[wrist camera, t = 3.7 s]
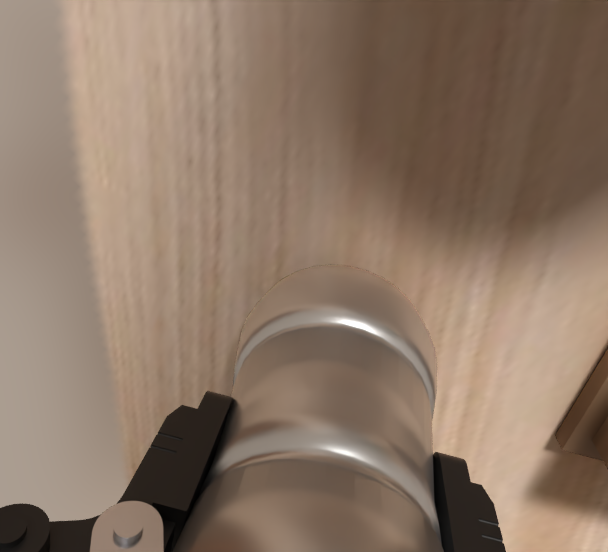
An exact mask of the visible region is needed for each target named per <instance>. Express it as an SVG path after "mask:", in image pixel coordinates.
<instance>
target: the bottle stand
mask: <svg viewBox="0 0 608 552" xmlns="http://www.w3.org/2000/svg"><path fill="white" fill-rule="evenodd" d="M555 436H556V438H557V440H558V442H559V444H560V447H561V449H562V450H564V451H568V452H572V453H576V454H579V455H583V456H587V457H591V458H595V459H598V460H602V461H604V463H605V465H606V467H607V469H608V349H607V351H606V352H605V354H604V356H603V357H602V359H601V360H600V362H599V364H598V365H597V367H596V369H595V370H594V372H593V374H592V375H591V377H590V379H589V380H588V382H587V384H586V385H585V387H584V389H583V390H582V392H581V394H580V395H579V397H578V398H577V400H576V402H575V403H574V405H573V407H572V408H571V410H570V412H569V413H568V415H567V417H566V418H565V420H564V422H563V423H562V425H561V427H560V428H559V430H558V432H557V433H556V435H555Z"/></svg>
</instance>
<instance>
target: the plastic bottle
mask: <svg viewBox="0 0 608 552" xmlns="http://www.w3.org/2000/svg"><path fill="white" fill-rule="evenodd" d="M436 391H437V360H436V351H435V347H434V344H433V342H432V339H431V336H430V334H429V332H428V330H427V328H426V326H425V324H424V322H423V320H422V318H421V316H420V315H419V313H418V311H417V310H416V308H415V307H414V305H413V304H412V302H411V301H410V300H409V299H408V298H407V297H406V295H405V294H404V293H403V292H402V291H401V290H400V289H399V288H397V287H396V286H394V285H393V284H391V283H390V282H389V281H387V280H386V279H384V278H382V277H380V276H378V275H376V274H374V273H371V272H369V271H367V270H363V269H359V268H355V267H351V266H343V265H322V266H313V267H309V268H306V269H303V270H299V271H296V272H294V273H292V274H291V275H289V276H287V277H285V278H283V279H282V280H280V281H279V282H278V283H277V284H276V285H274V286H273V287H272V288H271V289H270V290H269V291H268V292H267V293H266V294H265V295H264V297H263V298H262V299H261V300H260V301H259V302H258V303H257V305H256V306H255V307H254V309H253V310H252V311H251V312H250V314H249V315H248V317H247V319H246V321H245V324H244V326H243V328H242V331H241V336H240V340H239V345H238V350H237V354H236V361H235V367H234V377H233V390H232V394H231V397H233V402H232V405H231V407H230V410H229V413H228V416H227V419H226V423H225V426H224V429H223V432H222V435H221V438H220V441H219V444H218V447H217V450H216V453H215V456H214V460H213V463H212V465H211V468H210V470H209V472H208V474H207V476H206V479H205V481H204V483H203V485H202V487H201V490H200V494H199V497H198V498H197V500H196V501H195V503H194V505H193V508H192V510H191V512H190V514H189V516H188V519H187V521H186V523H185V525H184V528H183V530H182V532H181V534H180V536H179V538H178V540H177V543H176V545H175V547H174V549H173V552H444V550H443V548H442V542H441V535H440V528H439V522H438V517H437V512H436V507H435V502H434V474H433V443H432V419H433V413H434V407H435V399H436Z"/></svg>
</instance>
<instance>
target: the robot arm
mask: <svg viewBox="0 0 608 552" xmlns="http://www.w3.org/2000/svg"><path fill="white" fill-rule="evenodd" d="M232 402H233V397H229V396H225V395H221V394H217V393H214V392H210V391H207V392H206V393H205V395H204V397H203V399H202V401H201V403H200V405H199V408H198V409H195V408H191V407H187V406H184V405H182V406H180V407H179V408H178V409H176V410H175V411H174V412H172V413H171V414H170V415H168V416H167V417H166V419H165V421H164V423H163V424H162V426H161V428H160V430H159V432H158V435H156V437H155V439H154V441H153V442H152V444H151V447H150V448H149V450H148V451H147V453H146V455H145V457H144V459H143V460H142V462H141V464H140V466H139V468H138V469H137V471H136V473H135V475H134V476H133V478H132V480H131V482H130V484H129V485H128V487H127V489H126V491H125V493H124V494H123V496H122V498H121V499H120V500H119V501H118V503H117V504H116V505H114V506H111V507H110V508H109V509H107V510H106V511H105V512H103V513H102V514H101V515H99V516H96V517H94V518H90V519H86V520H77V521H56V522H49V518H48V516H47V515H46V513H45V512H44V511H43V510H42V509H40V508H39V507H36V506H34V505H30V504H13V505H9V506H5V507H2V508H0V552H173V549H174V547H175V545H176V543H177V540H178V538H179V536H180V534H181V532H182V530H183V528H184V525H185V523H186V521H187V519H188V516H189V514H190V512H191V510H192V508H193V505H194V503H195V501H196V500H197V498H198V497H199V494H200V490H201V487H202V485H203V483H204V481H205V479H206V476H207V474H208V472H209V470H210V468H211V465H212V463H213V460H214V456H215V453H216V450H217V447H218V444H219V441H220V438H221V435H222V432H223V429H224V426H225V423H226V419H227V416H228V413H229V410H230V407H231V405H232ZM433 474H434V502H435V507H436V512H437V517H438V522H439V528H440V535H441V542H442V548H443V550H444V552H506V550H505V546H504V544H503V543H502V540H503V538H502V535H501V531H500V527H498V524H499V523H498V519H497V515H496V511H495V507H494V504H493V502H492V501H491V499H490V498H489V496H488V494H487V493H486V491H485V490H484V488H483V487H482V485H479V484H475V483H471V482H470V477H469V472H468V468H467V464H466V461H465V460H464V459H461V458H457V457H453V456H450V455H446V454H442V453H438V452H435V453H434V454H433Z"/></svg>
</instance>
